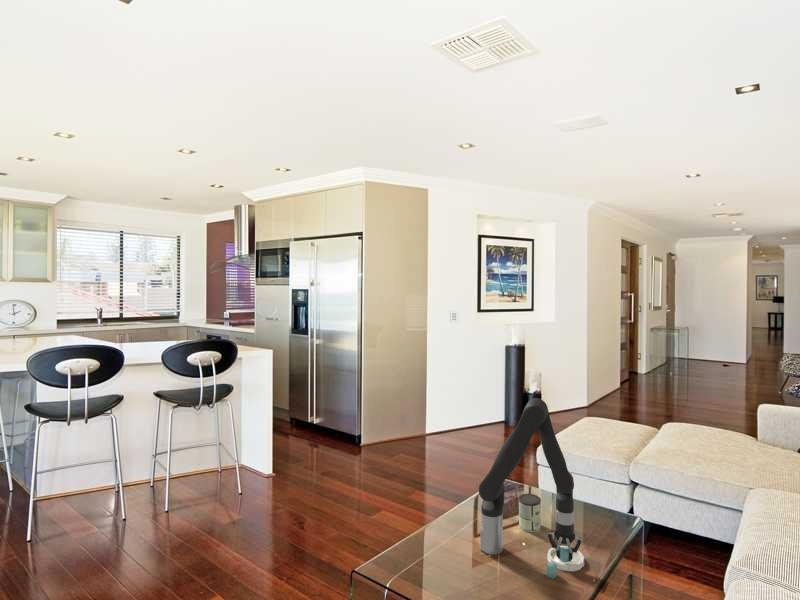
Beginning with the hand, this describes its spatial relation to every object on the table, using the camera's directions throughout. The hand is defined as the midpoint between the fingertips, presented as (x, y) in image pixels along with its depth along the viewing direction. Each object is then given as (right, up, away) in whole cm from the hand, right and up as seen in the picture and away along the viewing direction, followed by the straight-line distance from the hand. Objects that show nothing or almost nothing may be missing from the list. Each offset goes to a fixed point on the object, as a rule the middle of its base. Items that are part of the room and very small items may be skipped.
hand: (564, 558), depth 218 cm
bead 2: (0, 0, 0) cm, 0 cm away
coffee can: (-7, 0, +31) cm, 32 cm away
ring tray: (+2, -3, +4) cm, 5 cm away
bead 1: (-7, -4, -6) cm, 10 cm away
